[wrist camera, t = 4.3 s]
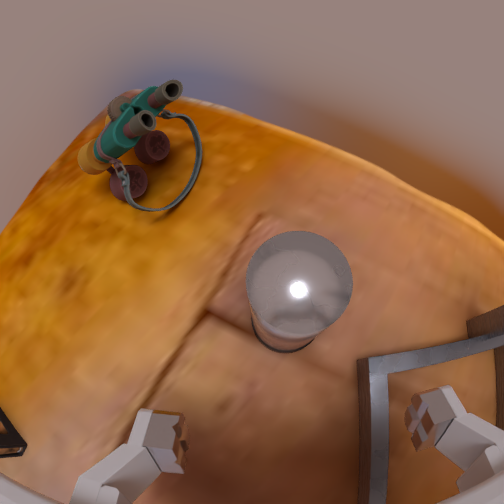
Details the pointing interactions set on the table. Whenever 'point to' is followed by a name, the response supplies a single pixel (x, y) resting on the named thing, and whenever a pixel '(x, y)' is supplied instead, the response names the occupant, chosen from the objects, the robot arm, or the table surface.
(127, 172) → the binoculars
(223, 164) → the table surface
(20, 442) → the ammunition clip
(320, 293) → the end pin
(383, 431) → the grey metal bar frame
